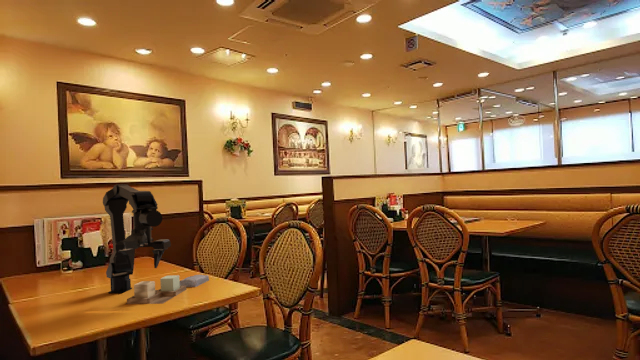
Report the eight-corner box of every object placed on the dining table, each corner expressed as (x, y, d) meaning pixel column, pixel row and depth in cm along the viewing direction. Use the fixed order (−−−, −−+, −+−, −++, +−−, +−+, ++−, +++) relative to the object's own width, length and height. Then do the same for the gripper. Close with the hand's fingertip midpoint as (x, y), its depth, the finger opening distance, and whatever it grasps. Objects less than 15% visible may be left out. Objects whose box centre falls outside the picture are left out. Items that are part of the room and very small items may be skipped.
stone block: (175, 294, 156) (197, 289, 155) (172, 282, 157) (195, 277, 155) (190, 287, 168) (211, 282, 166) (188, 276, 169) (209, 271, 167)
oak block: (134, 301, 138) (133, 284, 138) (142, 297, 143) (141, 281, 143) (147, 301, 137) (147, 284, 137) (155, 297, 142) (154, 281, 142)
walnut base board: (125, 306, 136) (124, 299, 136) (152, 292, 153) (152, 286, 153) (163, 305, 134) (162, 299, 134) (186, 291, 152) (186, 285, 152)
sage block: (161, 294, 146) (160, 278, 146) (167, 291, 151) (167, 275, 151) (173, 294, 145) (173, 278, 145) (179, 290, 150) (179, 275, 150)
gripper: (103, 228, 135) (105, 273, 135) (154, 227, 133) (156, 273, 133) (123, 225, 146) (125, 266, 146) (170, 223, 144) (172, 266, 144)
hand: (143, 268), depth 142 cm, fingers open, 9 cm apart
